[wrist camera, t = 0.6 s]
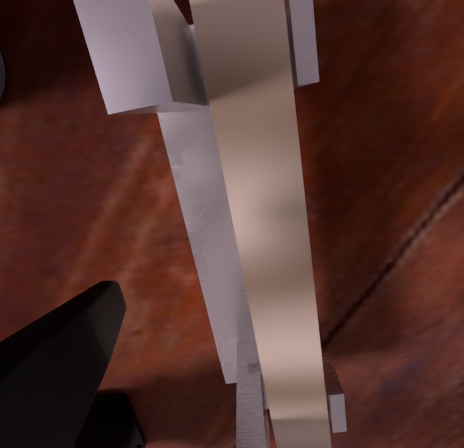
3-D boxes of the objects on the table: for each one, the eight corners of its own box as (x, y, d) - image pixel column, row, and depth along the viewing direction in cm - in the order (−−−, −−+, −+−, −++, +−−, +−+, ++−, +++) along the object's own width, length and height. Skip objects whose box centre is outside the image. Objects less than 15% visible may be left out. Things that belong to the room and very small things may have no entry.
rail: (320, 414, 20) (333, 462, 17) (275, 418, 21) (280, 468, 18) (269, -17, 12) (278, -56, 9) (195, -1, 12) (182, -33, 10)
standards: (320, 359, 24) (390, 573, 13) (226, 371, 25) (216, 584, 14) (282, 11, 16) (381, -213, 5) (144, 41, 17) (-44, -96, 6)
